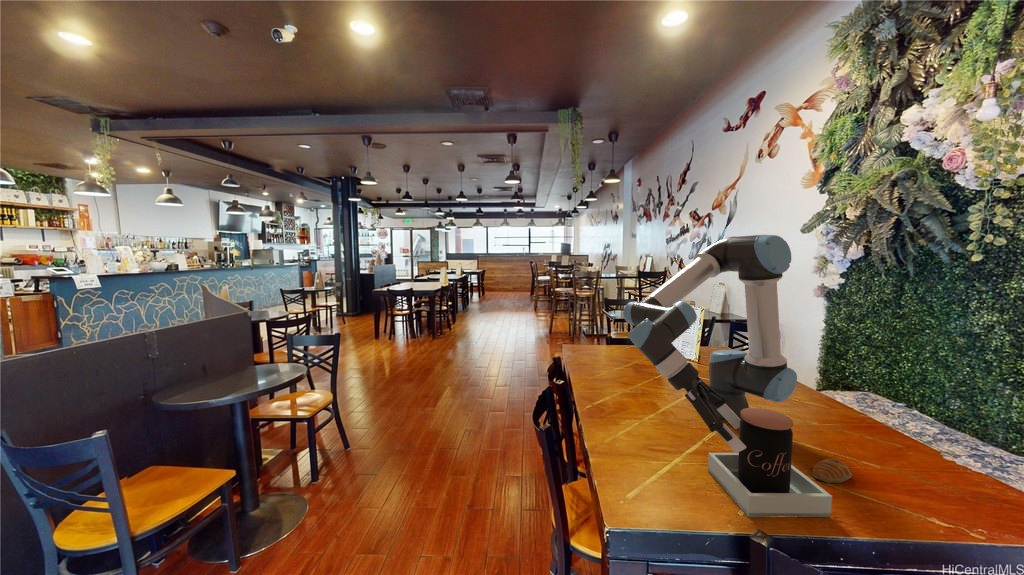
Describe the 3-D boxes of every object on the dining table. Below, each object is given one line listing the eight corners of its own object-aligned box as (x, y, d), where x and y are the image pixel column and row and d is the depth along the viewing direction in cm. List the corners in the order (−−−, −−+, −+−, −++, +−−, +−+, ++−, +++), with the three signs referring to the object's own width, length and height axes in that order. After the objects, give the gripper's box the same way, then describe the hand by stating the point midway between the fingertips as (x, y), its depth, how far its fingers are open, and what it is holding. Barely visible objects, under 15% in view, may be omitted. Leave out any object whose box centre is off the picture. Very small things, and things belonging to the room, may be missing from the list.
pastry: (835, 489, 92) (835, 474, 92) (803, 475, 98) (804, 461, 98) (853, 479, 96) (854, 464, 96) (822, 466, 102) (823, 452, 102)
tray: (775, 470, 100) (776, 452, 99) (830, 517, 82) (832, 496, 82) (707, 470, 100) (708, 452, 100) (748, 517, 82) (749, 496, 82)
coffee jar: (741, 494, 88) (744, 422, 87) (733, 470, 98) (736, 404, 97) (795, 505, 84) (800, 429, 83) (782, 479, 94) (785, 410, 93)
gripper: (672, 366, 111) (728, 425, 105) (658, 393, 90) (727, 469, 83) (692, 350, 108) (751, 411, 102) (683, 375, 87) (756, 453, 80)
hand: (740, 437), depth 93 cm, fingers open, 13 cm apart
